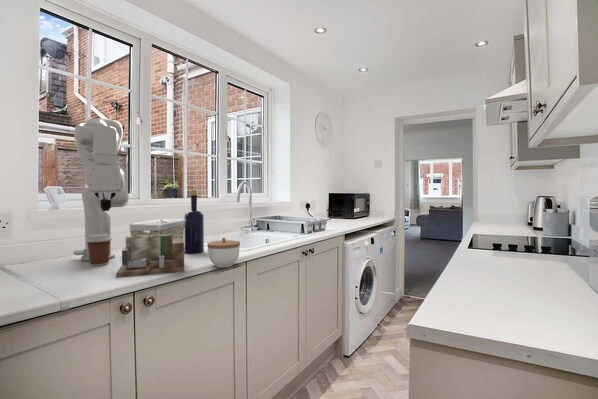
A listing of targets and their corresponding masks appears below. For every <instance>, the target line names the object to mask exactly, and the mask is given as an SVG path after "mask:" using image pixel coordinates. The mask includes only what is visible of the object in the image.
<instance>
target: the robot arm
mask: <svg viewBox="0 0 598 399" xmlns="http://www.w3.org/2000/svg"><path fill="white" fill-rule="evenodd" d="M73 133H74V141H75V148H76V151H77V154H78V157H79V158H80V160H81V162H82V164H83V175H84V176H83V177H84V183H85V184H86V186H87V187H85V188H84V189H83V190H82V192H81V200H82V204H83V205H82V206H83V211H84V213H83V214H84V248H83V249H74V250H73V255H76V256H80V255H82V256H81V257H80V260H81V261H84V262H90V260H89V252H88V243H87V242H85V240H86V239H87V238H89V235H91V234H109V236H110V237H111V238H112V236H111V233H112V232H111V230H112V229H111V228H112V227H111V226H112V224H111V216H110V214H109V213H108V212H109V211H110V209H111V208H124V207H126V206H127V205H128V203H129V190H128V187H127V186H128V185H127V180H126V175H125V172H124V171H123V170H122V169H121V167H120V164H118V151H119V149H120V148H121V147H120V146H121V142H122V139H123V135H124V134H123V126H122V124H121V123H120V122H119V121H118V120H113V119H106V118H105V119H104V118H100V117H99V118H98V117H96V118H95V117H93V118H89V119H87V120H86V121H85V122H80V123H77V124H76V125H75V128H74V131H73ZM111 244H112V240H111V241H110V250H109V259H113V258H115V257H116V253H114V252H112V245H111Z"/></svg>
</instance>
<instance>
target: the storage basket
mask: <svg viewBox="0 0 598 399" xmlns="http://www.w3.org/2000/svg"><path fill="white" fill-rule="evenodd" d="M129 232H130V236H150V235H173V234H176V238H185V235H184V219H183V218H182V219H177V218H175V219H174V218H172V219H171V218H158V219H152V220H145V221H141V222H140V221H139V222H132V223H129Z"/></svg>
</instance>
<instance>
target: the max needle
mask: <svg viewBox="0 0 598 399" xmlns="http://www.w3.org/2000/svg"><path fill="white" fill-rule="evenodd" d="M159 268H164V256H162V241H161V256H159Z"/></svg>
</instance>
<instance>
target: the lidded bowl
mask: <svg viewBox="0 0 598 399" xmlns="http://www.w3.org/2000/svg"><path fill="white" fill-rule="evenodd" d="M240 245H241V243H240V241H238V240H233V239H232V240H231V239H226V237H222V238H221V239H220V240H214V241H209V242H207V254H208V259H209V261H210V262H211V263H212V264H213V265H214V267H216V268H229V267H232V266H233V265H234V264H235V263H236V262H237V260H238V258H239V256H240V249H241V248H240Z"/></svg>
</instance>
